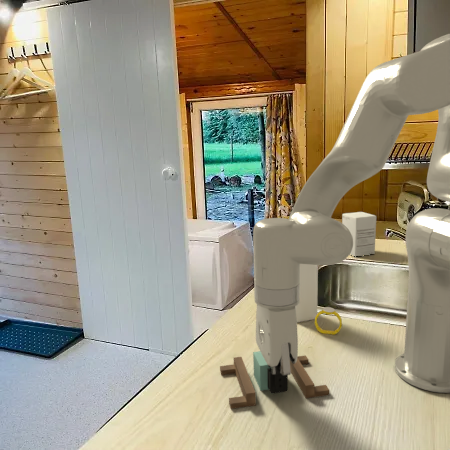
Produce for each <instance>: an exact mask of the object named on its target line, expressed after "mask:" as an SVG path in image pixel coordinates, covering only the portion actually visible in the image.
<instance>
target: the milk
mask: <svg viewBox="0 0 450 450" xmlns="http://www.w3.org/2000/svg"><path fill="white" fill-rule="evenodd" d="M318 267H319V265H312V264H300V297H299V298H300V302H299V304H298V305H296V306H295V308H296V318H297V323H302V322H307V321H312V320H315V317H316V315H317V314H318V283H319V281H318V278H319V277H318V275H319V274H318V273H319V270H318V269H319V268H318Z"/></svg>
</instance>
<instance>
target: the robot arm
mask: <svg viewBox="0 0 450 450" xmlns="http://www.w3.org/2000/svg"><path fill="white" fill-rule="evenodd" d="M435 111H437V112H438V120H437V121H438V122H437V128H436V134H435V138H434V142H433V143H434V144H433V148H432V151H431V157H430V161H429V166H428V170H427V177H426V186H427V190H428V191H429V193H430V194H431V195H432V196H434V197H435V198H437V199H439V200H441V201H445V202H449V203H450V33H447V34H445V35H444V34H443V35H442V36H439V37H437V38H435V39H433V40H431V41H430V42H427V44H425V45H424V46H423V47H422V48H421V49H420V51H419V50H418V51H416V52H414V53H409V54H406V55H403V56H400V57H398V58H394V59H391V60H387V61H385V62H383V63H380V64H379V65H377V66H375V67H374V68H373V69H372V70H370V71H369V73H368V74H367V76H366V77H365V79H364V81H363V83H362V84H361V87H360V88H359V91H358V93H357V96H356V98H355V100H354V102H353V104H352V106H351V109H350V111H349V113H348V114H347V118H346V120H345V122H344V124H343V125H342V129H340V132H339V135H338V137H337V139H336V141H335V143H334V145H333V147H332V149H331V150H330V152H329V153H328V154H327V155H326V157H324V159H322V161H321V162H320V164H319V165H318V166H317V167H316V169H315V170H314V171H313V172H312V173H311V175H310V176H309V178H308V179H307V181H306V182H305V183H304V185H303V187H302V189H301V190H300V192H299V194H298V197H297V198H296V201H295V203H294V205H293V207H292V210H291V212H290V214H289V217H288V218H285V217H284V218H283V217H271V218H263V219H260V220H258V221H257V222H255V224H254V226H253V231H252V236H253V237H252V238H253V239H252V240H253V244H252V245H253V246H252V247H253V285H254V287H253V288H254V289H253V291H254V294H253V295H254V296H253V298H254V303H255V304H256V312H255V313H256V314H255V320H256V321H255V343H256V345H257V347H258V350H259V351H261V353H262V355H263V357H264V359H265V361H266V363H267V365H268V367H271V368H267V374H268V389H269V390H268V391H269V393H270V394H273V395H274V394H278V393H286V392H287V391H288V390H289V387H288V386H289V384H288V382H289V381H288V379H289V377H288V376H290V375H292V374H291V370H290V361H291V362H292V363H293V364H295V363H296V362H297V356H298V354H299V353H298V350H299V346H298V345H299V340H298V339H299V338H298V337H299V336H298V322H297V318H296V308H295V306H296V305H298V304H299V302H300V298H299V297H300V264H312V265H318V266H333V265H336V264H339V263H341V262H343V261H345V260H346V259H347V258H349V256H351V255H350V253H351V251H352V248H353V237H352V234H351V232H350V231H349V229H348V228H347V227H346V226H345V225H344V224H342V222H341V221H339V220H337V219H335V218H332V216H333V214H334V211H335V210H336V208H337V206H338V204H339V203H340V201H341V199H342V198H343V197H344V196H345V195H346V194H347V193H348V192H349V191H350V190H351V189H352V188H353V187H355V186H356V185H358V184H360V183H362V182H363V181H365V180H368V179H370V178H372V177H373V176H375V175H377V174H378V173H379V172H380V171H381V170H383V168H384V167H385V166H386V164H387V161H388V159H389V157H390V154H391V152H392V150H393V148H394V145H395V144H396V142H397V139H399V138H398V137H399V135H400V134H401V131H402V129H403V127H404V125H405V123H406V121H407V120H408V117H409V116H413V115H415V116H416V115H424V114H427V113H428V114H429V113H432V112H435ZM405 248H406V254H407V261H408V286H407V287H408V289H407V304H406V319H405V320H406V321H405V336H404V352H403V353H402V354H400V355H399V356H397V358H396V359H395V361H394V369H395V372H396V373H397V375H398V376H399V377H400V378H401V379H402V380H403V381H404V382H406V383H407V384H409V385H411V386H414V387H416V388H419V389H422V390H425V391H429V392H434V393H441V394H445V393H446V394H447V393H449V394H450V209H446V208H439V207H437V208H435V207H431V208H427V209H423V210H422V211H419V212H417V213H416V214H415V215H414V216H413V217H412V218H411V219H410V221H409V223H408V224H407V227H406V231H405Z"/></svg>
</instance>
